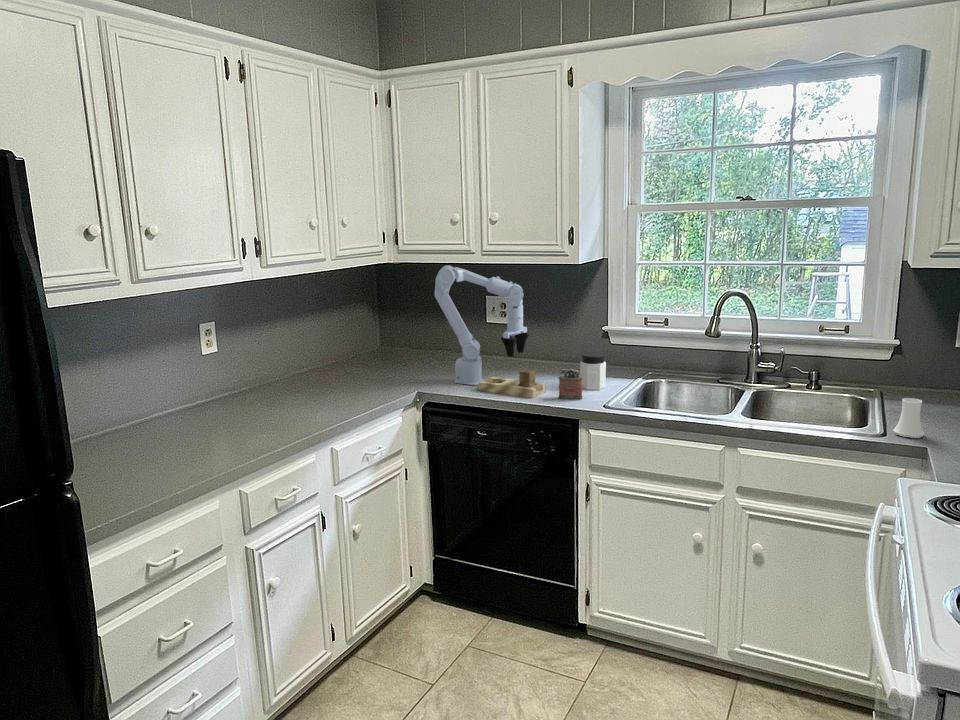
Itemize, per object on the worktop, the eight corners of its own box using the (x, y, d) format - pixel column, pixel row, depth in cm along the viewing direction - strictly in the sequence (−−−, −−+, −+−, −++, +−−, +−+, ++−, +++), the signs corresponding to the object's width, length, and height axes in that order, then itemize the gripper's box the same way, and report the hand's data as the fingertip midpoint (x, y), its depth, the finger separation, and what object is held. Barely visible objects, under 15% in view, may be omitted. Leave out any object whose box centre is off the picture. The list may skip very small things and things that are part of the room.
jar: (580, 390, 258) (580, 356, 256) (579, 384, 266) (580, 352, 264) (606, 390, 257) (606, 356, 255) (604, 384, 265) (605, 352, 263)
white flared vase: (895, 428, 211) (899, 395, 208) (926, 433, 206) (930, 399, 204) (890, 435, 205) (894, 401, 203) (921, 440, 200) (925, 405, 198)
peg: (519, 393, 255) (519, 371, 253) (524, 391, 258) (524, 369, 256) (529, 395, 253) (529, 372, 251) (534, 392, 256) (534, 370, 254)
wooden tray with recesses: (478, 390, 260) (478, 382, 259) (492, 384, 268) (492, 376, 267) (533, 398, 249) (533, 389, 249) (545, 391, 257) (545, 383, 256)
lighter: (583, 397, 249) (583, 368, 247) (581, 400, 246) (582, 371, 243) (559, 396, 251) (559, 367, 249) (557, 398, 248) (557, 370, 246)
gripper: (515, 321, 258) (515, 359, 261) (534, 315, 270) (534, 351, 273) (497, 320, 261) (498, 357, 264) (517, 314, 274) (517, 350, 276)
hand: (515, 354), depth 269 cm, fingers open, 7 cm apart
